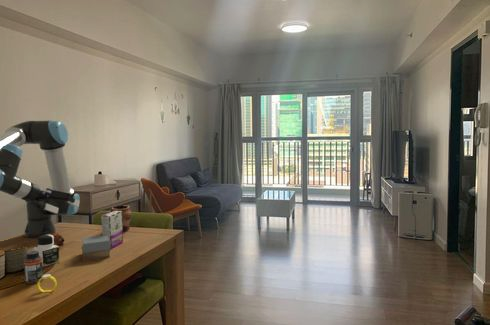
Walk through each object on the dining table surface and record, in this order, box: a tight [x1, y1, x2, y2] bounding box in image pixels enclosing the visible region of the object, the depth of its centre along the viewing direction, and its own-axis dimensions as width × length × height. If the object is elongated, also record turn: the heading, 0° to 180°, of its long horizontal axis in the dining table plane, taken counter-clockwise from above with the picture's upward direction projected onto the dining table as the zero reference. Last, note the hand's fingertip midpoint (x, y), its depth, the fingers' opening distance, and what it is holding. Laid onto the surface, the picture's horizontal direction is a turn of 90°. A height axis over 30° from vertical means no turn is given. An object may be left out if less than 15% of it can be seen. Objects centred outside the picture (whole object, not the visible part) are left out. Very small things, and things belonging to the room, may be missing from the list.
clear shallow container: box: [81, 245, 111, 262], centre depth 166 cm, size 11×11×4 cm
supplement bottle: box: [23, 250, 44, 285], centre depth 137 cm, size 6×6×11 cm
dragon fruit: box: [37, 232, 65, 248], centre depth 175 cm, size 8×8×12 cm
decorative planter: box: [109, 204, 132, 232], centre depth 207 cm, size 20×12×14 cm, turn 9°
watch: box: [36, 273, 58, 294], centre depth 128 cm, size 6×3×6 cm, turn 100°
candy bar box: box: [100, 211, 124, 250], centre depth 180 cm, size 11×5×16 cm, turn 168°
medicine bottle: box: [33, 235, 60, 268], centre depth 156 cm, size 7×7×12 cm
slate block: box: [81, 234, 111, 253], centre depth 166 cm, size 11×11×4 cm
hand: (68, 207), depth 167 cm, fingers open, 13 cm apart
